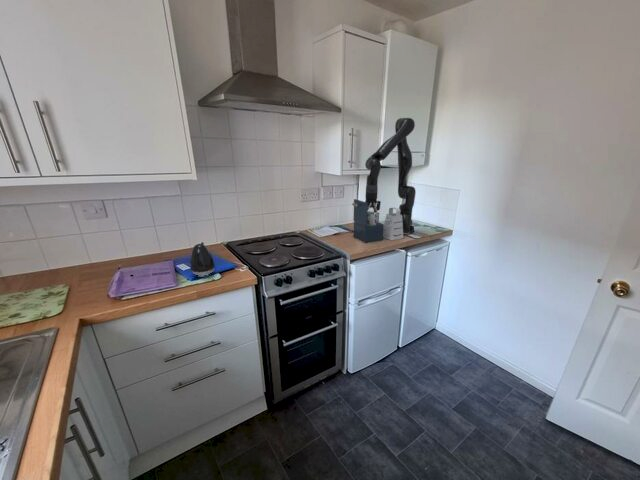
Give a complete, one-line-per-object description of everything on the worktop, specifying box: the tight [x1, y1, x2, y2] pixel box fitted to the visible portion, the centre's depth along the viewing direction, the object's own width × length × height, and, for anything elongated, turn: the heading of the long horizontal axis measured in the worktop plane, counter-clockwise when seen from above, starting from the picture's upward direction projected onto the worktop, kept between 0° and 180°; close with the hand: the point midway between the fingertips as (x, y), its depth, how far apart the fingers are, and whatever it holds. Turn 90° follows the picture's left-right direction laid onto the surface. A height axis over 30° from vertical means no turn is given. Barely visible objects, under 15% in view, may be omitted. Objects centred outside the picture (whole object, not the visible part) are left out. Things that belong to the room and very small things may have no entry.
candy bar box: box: [367, 210, 380, 226], centre depth 197 cm, size 11×5×16 cm, turn 57°
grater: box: [383, 206, 404, 241], centre depth 201 cm, size 10×10×20 cm
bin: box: [352, 221, 384, 244], centre depth 199 cm, size 14×15×11 cm
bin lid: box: [352, 198, 369, 226], centre depth 189 cm, size 14×15×5 cm
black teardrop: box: [189, 241, 216, 278], centre depth 137 cm, size 10×10×15 cm
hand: (370, 217), depth 196 cm, fingers closed on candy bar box, 6 cm apart
